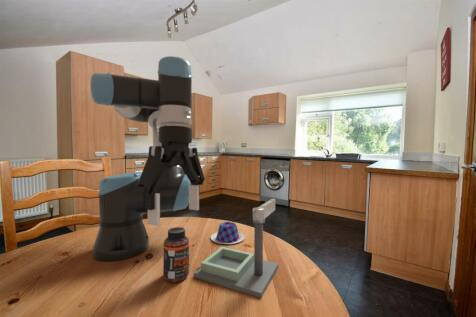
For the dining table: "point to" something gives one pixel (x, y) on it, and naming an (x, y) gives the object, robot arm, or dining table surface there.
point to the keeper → (263, 211)
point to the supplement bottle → (176, 255)
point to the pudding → (227, 234)
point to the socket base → (239, 267)
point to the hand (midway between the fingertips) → (176, 216)
